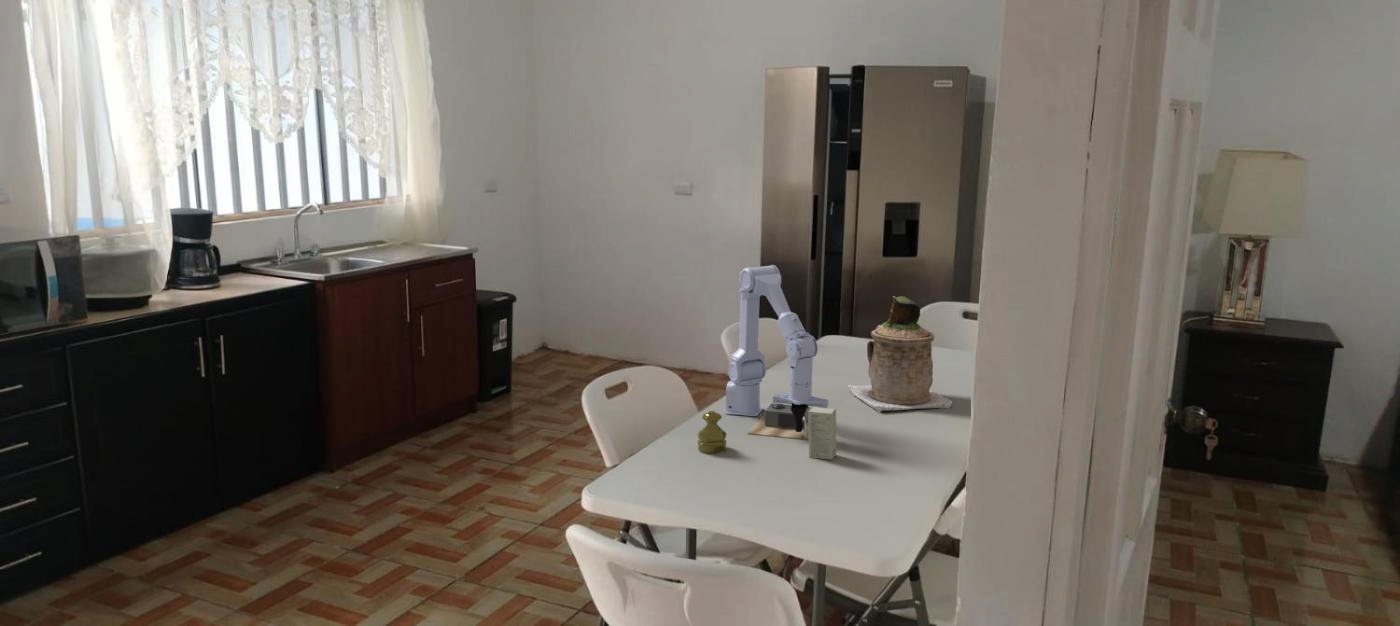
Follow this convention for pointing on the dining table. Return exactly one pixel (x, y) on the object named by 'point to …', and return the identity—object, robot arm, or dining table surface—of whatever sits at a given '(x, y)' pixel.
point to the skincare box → (822, 432)
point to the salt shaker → (712, 434)
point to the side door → (805, 428)
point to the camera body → (782, 416)
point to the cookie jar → (900, 363)
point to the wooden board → (775, 431)
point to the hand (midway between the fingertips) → (799, 430)
